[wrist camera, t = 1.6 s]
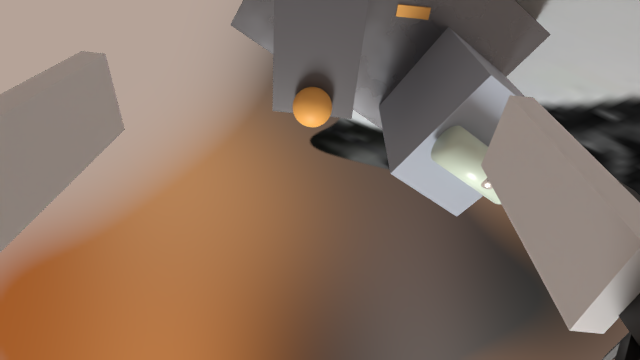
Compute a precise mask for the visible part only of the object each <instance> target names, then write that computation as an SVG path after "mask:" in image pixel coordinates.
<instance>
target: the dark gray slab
mask: <svg viewBox="0 0 640 360" xmlns="http://www.w3.org/2000/svg"><path fill="white" fill-rule="evenodd" d="M368 6H369V0H274V49H273V55H274V57H273V111H280V112H290V113H294V115H295V117H296V119H297V120H298V121H299V122H300V123H301V124H303V125H305V126H308V127H317V126H320V125H322V124H324V123H325V122H326V121H327V120H328V119H329V117H339V118H349V119H351V118H352V112H353V105H354V98H355V92H356V85H357V78H358V72H359V65H360V59H361V52H362V45H363V39H364V32H365V26H366V19H367V12H368Z"/></svg>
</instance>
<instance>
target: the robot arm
mask: <svg viewBox="0 0 640 360" xmlns="http://www.w3.org/2000/svg"><path fill="white" fill-rule="evenodd" d="M124 130H125V129H124V125H123V122H122V118H121V114H120V110H119V106H118V102H117V98H116V94H115V90H114V86H113V83H112V78H111V74H110V71H109V66H108V62H107V59H106V55H105V54H103V53H93V52H84V51H81V52H79V53H77V54H75V55H74V56H72V57H70V58H68V59H66V60H64V61H62V62H61V63H58V64H57V65H55V66H53V67H51V68H49V69H47V70H45V71H43V72H42V73H40V74H38V75H36V76H34V77H32V78H30V79H28V80H26V81H25V82H23V83H21V84H19V85H17V86H15V87H13V88H12V89H9V90H8V91H6V92H4V93H2V94H0V252H1V251H2V250H3V249H4V248H5V247H6V246H7V245H8V244H9V243H10V242H11V241H12V240H13V239H14V238H15V237H16V236H17V235H18V234H19V233H20V232H21V231H22V230H23V229H25V227H26V226H28V225H29V223H31V221H33V220H34V219H35V218H36V217H37V216H38V215H39V213H40V212H42V210H44V209H45V208H46V206H48V205H49V204H50V203H51V202H52V201H53V200H54V199H55V198H56V197H57V196H58V195H59V194H60V193H61V192H62V191H63V190H64V189H65V188H66V187H67V186H68V185H69V184H70V183H71V182H72V181H73V180H74V179H75V178H76V177H77V176H78V175H79V174H80V173H81V172H82V171H83V170H84V169H85V168H86V167H87V166H88V165H89V164H90V163H91V162H92V161H93V160H94V159H95V158H96V157H97V156H98V155H99V154H100V153H101V152H102V151H103V150H104V149H105V148H106V147H107V146H108V145H109V144H110V143H111V142H112V141H113V140H114V139H115V138H116V137H117V136H119V135H120V133H122V131H124ZM481 167H482V169H483V170H484V172H485V174H486V176H487V178H488V180H489V182H490V183H491V185H492V187H493V189H494V191H495V193H496V195H497V196H498V198H499V200H500V202H501V204H502V206H503V208H504V210H505V211H506V213H507V215H508V217H509V219H510V221H511V223H512V224H513V226H514V228H515V230H516V232H517V234H518V236H519V237H520V239H521V241H522V243H523V245H524V247H525V249H526V250H527V252H528V254H529V256H530V258H531V260H532V262H533V263H534V265H535V267H536V269H537V271H538V273H539V275H540V276H541V278H542V280H543V282H544V284H545V286H546V288H547V290H548V291H549V293H550V295H551V297H552V299H553V301H554V303H555V304H556V306H557V308H558V310H559V312H560V314H561V316H562V317H563V319H564V321H565V323H566V325H567V327H568V329H569V330H570V331H571V330H572V331H581V332H590V333H601V334H604V333H605V331H606V330H607V329H608V328H609V327H610V326H611V325H612V324H613V323H614V322H615V321H616V320H617V319H618V318H619V317H620V318H621V320H622V321H623V323H624V324H625V326H626V327H627V329H628V330H629V333H628V334H627V335H626V336H625V337H624V338H623V339H622V340H621V341H620V342H619V343H618V344H617V345H616V346H615V347H614V348H613V349H611V351H609V353H607V354H606V355H605V357H604V358H603V359H602V360H612V359H615V360H640V196H639V195H638V194H637V193H636V192H635V191H634V190H632V189H631V188H629V187H628V186H626V185H624V184H623V183H621V182H620V181H618V180H616V179H615V178H614V177H613V176H612V175H611V174H610V173H609V172H608V171H607V170H606V169H605V168H604V167H603V166H602V165H601V164H600V163H599V162H598V161H597V160H596V159H595V158H594V157H593V156H592V155H591V154H590V153H589V152H588V151H587V150H586V149H585V148H584V147H583V146H582V145H581V144H580V143H579V142H578V141H577V140H576V139H575V138H574V137H573V136H572V135H571V134H570V133H569V132H568V131H567V130H566V129H565V128H564V127H563V126H562V125H561V124H560V123H559V122H558V121H557V120H555V119H554V118H553V117H552V116H551V115H550V114H549V113H548V112H547V111H546V110H545V109H544V108H543V107H542V106H541V105H540V104H539V103H538V102H537V101H536V100H535V99H534V98H533V97H523V96H513V95H510V96H509V98H508V101H507V103H506V106H505V108H504V111H503V113H502V115H501V118H500V120H499V123H498V125H497V128H496V130H495V132H494V135H493V137H492V140H491V142H490V145H489V147H488V150H487V152H486V154H485V157H484V159H483V162H482V164H481Z"/></svg>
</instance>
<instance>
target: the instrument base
mask: <svg viewBox="0 0 640 360" xmlns="http://www.w3.org/2000/svg"><path fill="white" fill-rule="evenodd" d="M231 26H233V27H234V28H236V29H237V30H239V31H240V32H242V33H243V34H245V35H246V36H247V37H249V38H250V39H252V40H253V41H255V42H256V43H258V44H259V45H261V46H262V47H263V48H265V49H266V50H268V51H269V52H271V53H272V54H273V49H274V0H243V2H242V4H241V6H240V8H239V10H238V11H237V14H236V15H235V17H234V19H233V21H232V23H231ZM550 35H551V34H549V33H548V32H547V31H546V30H545V29H544V28H543V27H542V26H541V25H540V24H539V23H538V22H537V21H536V20H535V19H534V18H533V17H532V16H531V15H530V14H529V13H528V12H527V11H526V10H525V9H524V8H522V7H521V6H520V5H519V4H518V3H517V2H516V1H515V0H369V6H368V12H367V19H366V26H365V32H364V39H363V45H362V52H361V59H360V65H359V72H358V78H357V85H356V92H355V98H354V105H353V110H355V111H356V112H358V113H359V114H361V115H362V116H363V117H365V118H366V119H368V120H369V121H371V122H372V123H374V124H375V125H377V126H378V127H379V128H381V129H382V130H383V134H384V140H385V145H386V151H387V157H388V162H389V168H390V173H391V174H392V175H394V176H395V177H397V178H398V179H400V180H402V181H403V182H404V183H406V184H407V185H409V186H411V187H412V188H414V189H415V190H417V191H418V192H420V193H421V194H423V195H424V196H426V197H428V198H429V199H431V200H432V201H434V202H435V203H437V204H438V205H440V206H441V207H443V208H444V209H446V210H448V211H449V212H451V213H452V214H454V215H455V216H458V215H459V214H460V213H462V212H463V211H464V210H465V209H467V208H468V207H469V206H471V205H472V204H473V203H474V202H476V201H477V200H478V199H480V198H481V197H482V196H485V197H486V198H488V199H489V200H491V201H492V202H493V203H496V204H501V202H500V200H499V198H498V196H497V195H496V193H495V191H494V189H493V187H492V185H491V183H490V182H489V180H488V178H487V176H486V174H485V172H484V170H483V169H482V167H481V164H482V162H483V159H484V157H485V154H486V152H487V150H488V147H489V145H490V142H491V140H492V137H493V135H494V132H495V130H496V128H497V125H498V123H499V120H500V118H501V115H502V113H503V111H504V108H505V106H506V103H507V101H508V98H509V96H510V95H513V96H523V97H525V96H524V95H523V94H522V93H521V92H520V91H519V90H518V89H517V88H516V87H515V86H514V85H513V84H512V83H511V82H510V81H509V80H508V79H507V78H506V76H507V75H509V74H510V73H511V72H512V71H513V70H514V69H515V68H516V67H517V66H518V65H519V64H520V63H521V62H522V61H523V60H524V59H525V58H526V57H527V56H529V55H530V54H531V53H532V52H533V51H534V50H535V49H536V48H537V47H538V46H539V45H540V44H541V43H542V42H543V41H544V40H545V39H546V38H547V37H549V36H550Z"/></svg>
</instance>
